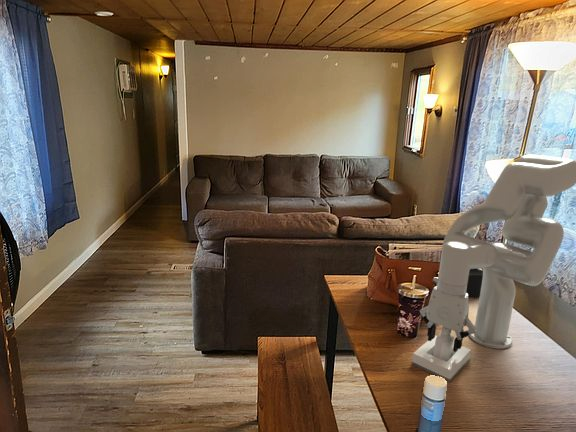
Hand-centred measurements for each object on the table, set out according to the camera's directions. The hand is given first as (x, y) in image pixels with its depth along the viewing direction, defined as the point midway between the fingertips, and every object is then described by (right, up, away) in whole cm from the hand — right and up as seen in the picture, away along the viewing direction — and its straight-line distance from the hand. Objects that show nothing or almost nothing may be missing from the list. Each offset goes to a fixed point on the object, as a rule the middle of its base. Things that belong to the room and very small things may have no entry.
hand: (443, 343), depth 119 cm
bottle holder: (0, -6, +2) cm, 6 cm away
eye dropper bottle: (0, -5, +1) cm, 5 cm away
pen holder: (+28, +5, +47) cm, 55 cm away
